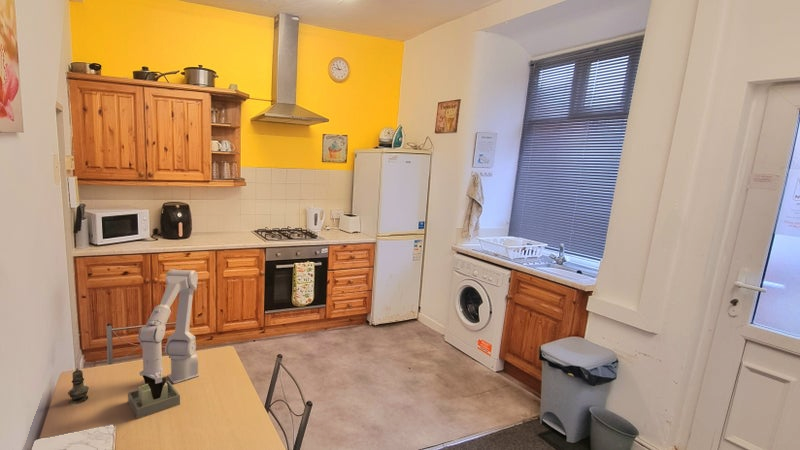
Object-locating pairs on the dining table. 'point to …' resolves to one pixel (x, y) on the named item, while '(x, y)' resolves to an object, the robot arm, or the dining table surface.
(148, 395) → the small crate
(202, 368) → the dining table surface
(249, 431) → the dining table surface
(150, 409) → the big crate
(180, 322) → the robot arm
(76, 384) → the dark ornate statuette
